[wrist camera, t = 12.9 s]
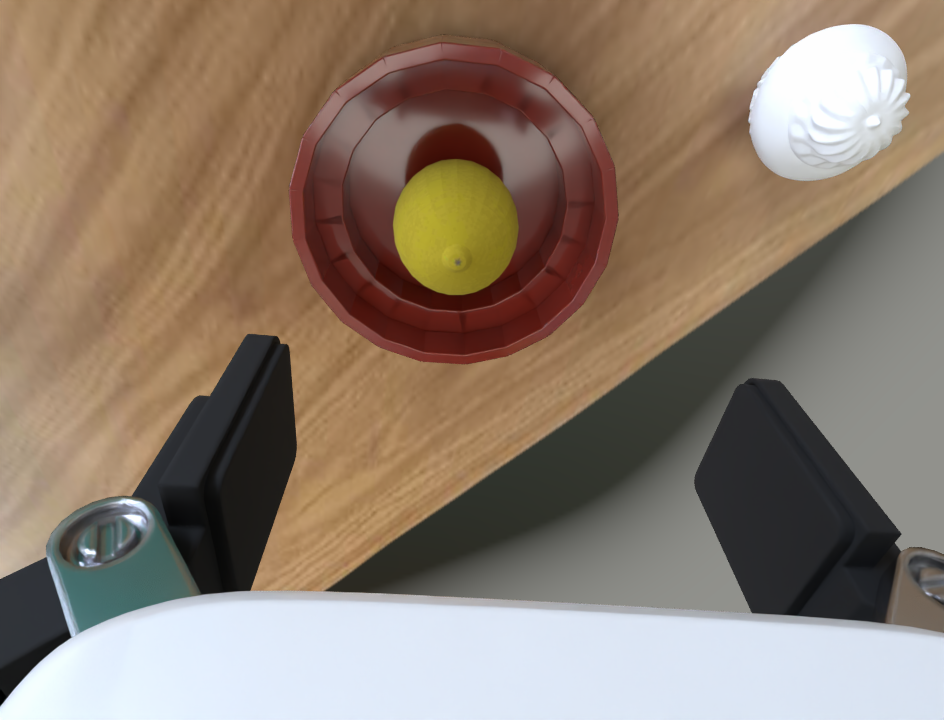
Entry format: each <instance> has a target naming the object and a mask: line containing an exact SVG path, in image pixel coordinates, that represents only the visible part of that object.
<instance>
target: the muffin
mask: <svg viewBox="0 0 944 720" xmlns="http://www.w3.org/2000/svg"><path fill="white" fill-rule="evenodd" d="M906 85H907V66H906V61H905V58H904V55H903V53H902V51H901V49H900V48H899V46H898V45H897V44H896V42H895V41H894V40H893V39H892V38H891V37H890V36H888V35H887V34H886V33H884V32H883V31H881V30H879V29H877V28H874V27H871V26H867V25H860V24H849V25H839V26H834V27H830V28H827V29H824V30H821V31H818V32H816V33H813V34H811V35H809V36H807V37H805V38H804V39H802V40H801V41H799V42H797V43H796V44H795V45H792V46H791V47H790V48H789V49H788V50H787V51H786V52H785V53H784V54H783V55H782V56H781V57H777V58H776V60H775V61H774V62H773V63H772V65H771V66H770V67H769V68H768V69H767V70H766V71H765V73H764V74H763V76H762V77H761V81H759V82H758V83H757V89H755V90H754V93H753V97H752V100H751V104H750V108H749V109H750V114H749V119H748V122H749V123H750V131H749V134H750V135H751V139H752V143H753V146H754V148H755V151H756V153H757V155H758V156H759V158H760V159H761V161H762V162H763V163H764V165H765V166H766V167H768V168H769V169H770V170H771V171H772V172H774V173H776V174H777V175H779V176H782V177H785V178H788V179H792V180H799V181H814V180H822V179H826V178H830V177H834V176H836V175H839V174H841V173H844V172H846V171H848V170H849V169H851V168H853V167H855V166H856V165H858V164H859V163H861V162H862V161H863V160H868V159H870V158H872V157H874V156H875V155H876V154H877V153H878V152H879V150H883V149H885V148H887V147H888V146H889V145H890V144H891V142H892V137H893V136H894V135H896V134H898V133H899V132H901V130H902V124H901V121H902V119H903V118H905V117H906V116H907V115H908V114H909V111H908V110H907V109H906V108H905V104H906V103H907V102H908V100H909V99H910V94H909V93H905V91H906Z"/></svg>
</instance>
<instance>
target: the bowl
mask: <svg viewBox="0 0 944 720" xmlns="http://www.w3.org/2000/svg"><path fill="white" fill-rule="evenodd" d="M450 159H461V160H468V161H473V162H475V163H477V164H479V165H482V166H484V167H486V168H487V169H489V170H490V171H491V172H492V173H494V174H495V175H496V176H497V177H499V178H500V180H501V181H502V182H503V184H504V185H505V186H506V188H507V189H508V190H509V192H510V194H511V197H512V199H513V202H514V204H515V207H516V210H517V218H518V226H519V229H518V237H517V244H516V248H515V251H514V253H513V256H512V258H511V260H510V263H509V265H508V266H507V267H506V269H505V270H504V271H503V273H502V274H501V275H500V277H499V278H497V279H496V280H495V281H494V282H492V283H491V284H490V285H489V286H487V287H485V288H483V289H481V290H479V291H477V292H474V293H469V294H465V295H447V294H443V293H439V292H436V291H434V290H432V289H430V288H428V287H426V286H424V285H423V284H421V283H420V282H419V281H418V280H417V279H415V278H414V277H413V276H412V275H411V273H410V272H409V271H408V269H407V268H406V266H405V265H404V264H403V262H402V260H401V258H400V255H399V253H398V250H397V247H396V245H395V238H394V230H393V220H394V213H395V207H396V204H397V201H398V199H399V197H400V195H401V192H402V190H403V189H404V187H405V186H406V185H407V183H408V182H409V181H410V180H411V178H412V177H413V176H414V175H415V174H417V173H418V172H419V171H421V170H422V169H424V168H425V167H426V166H428V165H431V164H433V163H436V162H439V161H441V160H450ZM289 188H290V189H289V199H290V212H291V225H292V238H293V242H294V244H295V247H296V249H297V251H298V254H299V256H300V259H301V261H302V264H303V266H304V268H305V271H306V273H307V276H308V278H309V281H310V283H311V284H312V287H313V288H314V289H315V290H316V291H317V293H318V294H319V295H320V296H321V298H322V299H323V300H324V301H325V302H326V304H327V305H328V306H329V307H330V308H331V310H332V311H333V312H334V313H335V314H336V316H337V317H338V318H339V319H340V321H342V322H343V323H344V324H346V325H347V326H349V327H350V328H352V329H353V330H355V331H356V332H358V333H359V334H360V335H362V336H363V337H365V338H366V339H368V340H369V341H371V342H372V343H374V344H375V345H377V346H378V347H380V348H383V349H386V350H389V351H391V352H394V353H397V354H400V355H403V356H406V357H409V358H412V359H415V360H418V361H423V362H436V363H451V364H471V363H476V362H481V361H486V360H491V359H496V358H501V357H506V356H509V355H512V354H514V353H516V352H518V351H520V350H522V349H524V348H526V347H528V346H530V345H532V344H534V343H536V342H538V341H540V340H542V339H544V338H546V337H548V335H550V334H551V333H553V332H554V331H555V330H556V329H557V328H558V327H559V326H560V325H561V324H562V323H564V322H565V321H566V320H567V319H568V318H569V317H570V316H571V315H572V314H573V313H575V312H576V311H577V310H578V309H579V308H580V307H581V306H582V305H583V304H584V302H585V301H586V299H587V297H588V296H589V294H590V292H591V291H592V289H593V287H594V286H595V284H596V283H597V281H598V279H599V278H600V276H601V274H602V273H603V271H604V269H605V268H606V266H607V263H608V259H609V255H610V251H611V247H612V243H613V239H614V235H615V231H616V227H617V223H618V216H619V214H618V201H617V188H616V174H615V167H614V163H613V161H612V158H611V156H610V154H609V151H608V149H607V147H606V144H605V142H604V140H603V137H602V135H601V133H600V130H599V128H598V126H597V124H596V121H595V119H594V118H593V116H592V115H591V113H590V112H589V111H588V110H587V109H586V108H585V107H584V106H583V105H582V104H581V103H580V102H579V101H578V100H577V98H576V97H575V96H574V95H573V94H572V93H571V92H570V91H569V90H568V89H567V88H566V87H565V86H564V85H563V83H562V82H561V81H560V80H559V79H558V78H557V77H556V76H555V75H554V74H552V73H551V72H550V71H548V70H547V69H546V68H545V67H543V66H542V65H541V64H540V63H538V62H536V61H534V60H532V59H530V58H528V57H526V56H524V55H522V54H521V53H519V52H517V51H515V50H513V49H511V48H509V47H507V46H505V45H503V44H501V43H499V42H497V41H494V40H489V39H481V38H472V37H463V36H454V35H446V34H444V35H437V36H433V37H429V38H425V39H421V40H417V41H413V42H410V43H406V44H402V45H398V46H394V47H393V48H390V49H389V50H387V51H386V52H384V53H383V54H381V55H380V56H379V57H377V58H376V59H374V60H373V61H371V62H370V63H368V64H367V65H366V66H364V67H363V68H361V69H360V70H358V71H357V72H356V73H354V74H353V75H351V76H350V77H349V78H348V79H347V80H346V81H345V82H343V83H342V84H341V85H340V86H339V87H338V88H337V89H336V90H335V91H334V92H333V93H332V94H331V96H330V97H329V99H328V100H327V102H326V103H325V105H324V106H323V107H322V109H321V110H320V112H319V113H318V115H317V116H316V117H315V119H314V120H313V122H312V123H311V125H310V126H309V128H308V129H307V130H306V132H305V133H304V135H303V137H302V140H301V144H300V148H299V151H298V155H297V159H296V163H295V166H294V170H293V174H292V178H291V181H290V185H289Z"/></svg>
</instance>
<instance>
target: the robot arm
mask: <svg viewBox="0 0 944 720" xmlns="http://www.w3.org/2000/svg"><path fill="white" fill-rule="evenodd" d="M296 450H297V441H296V428H295V415H294V402H293V389H292V376H291V363H290V351H289V346H288V345H287V344H280V340H279V338H278V337H277V336H268V335H256V334H247V335H246V337H245V338H244V340H243V342H242V343H241V345H240V347H239V348H238V350H237V352H236V353H235V355H234V357H233V358H232V360H231V362H230V363H229V365H228V367H227V368H226V370H225V372H224V373H223V375H222V377H221V378H220V380H219V382H218V383H217V385H216V387H215V388H214V390H213V392H212V393H211V395H210V396H200V395H199V396H197V397H195V398H194V399H193V401H192V402H191V403H190V405H189V406H188V408H187V409H186V411H185V413H184V414H183V416H182V417H181V419H180V420H179V422H178V424H177V425H176V427H175V428H174V430H173V432H172V433H171V435H170V436H169V438H168V439H167V441H166V443H165V444H164V446H163V447H162V449H161V451H160V452H159V454H158V455H157V457H156V458H155V460H154V462H153V463H152V465H151V466H150V468H149V470H148V471H147V473H146V474H145V476H144V477H143V479H142V481H141V482H140V484H139V485H138V487H137V489H136V490H135V492H134V493H133V495H132V496H118V497H109V498H105V499H102V500H98V501H95V502H92V503H90V504H88V505H86V506H84V507H82V508H80V509H78V510H76V511H74V512H73V513H72V514H70V515H69V516H68V517H66V518H65V519H64V520H62V521H61V523H60V524H59V525H58V526H57V527H56V529H55V530H54V531H53V532H52V533H51V536H50V538H49V541H48V543H47V545H46V555H47V557H46V558H44V559H42V560H39V561H37V562H35V563H33V564H31V565H29V566H27V567H25V568H23V569H21V570H19V571H16V572H14V573H12V574H10V575H8V576H6V577H4V578H2V579H0V720H944V554H942V553H939V552H937V551H934V550H930V549H926V548H922V547H909V548H907V549H905V550H903V551H900V550H899V548H898V547H897V546H896V544H895V541H896V540H897V539H898V538H899V537H900V535H901V533H900V531H898V529H897V528H896V526H895V525H894V524H893V523H892V521H891V520H890V519H889V518H888V516H887V515H886V514H885V513H884V511H883V510H882V509H881V507H880V506H879V505H878V504H877V502H876V501H875V500H874V499H873V497H872V496H871V495H870V494H869V492H868V491H867V490H866V488H865V487H864V486H863V485H862V484H861V482H860V481H859V480H858V478H857V477H856V476H855V475H854V473H853V472H852V471H851V470H850V468H849V467H848V466H847V464H846V463H845V462H844V461H843V459H842V458H841V457H840V456H839V454H838V453H837V452H836V451H835V449H834V448H833V447H832V446H831V444H830V443H829V442H828V440H827V439H826V438H825V437H824V435H823V434H822V433H821V432H820V430H819V429H818V428H817V426H816V425H815V424H814V423H813V421H812V420H811V419H810V418H809V416H808V415H807V414H806V413H805V411H804V410H803V409H802V408H801V406H800V405H799V404H798V403H797V401H796V400H795V399H794V398H793V396H792V395H791V394H790V392H789V391H788V390H787V389H786V387H785V386H784V385H783V384H782V383H781V382H780V381H777V380H767V379H756V378H751V379H748V380H747V381H746V382H745V383H744V384H740V385H739V386H738V387H737V388H736V389H735V391H734V393H733V396H732V398H731V400H730V402H729V404H728V406H727V408H726V410H725V412H724V415H723V417H722V419H721V421H720V423H719V425H718V427H717V429H716V432H715V434H714V436H713V438H712V440H711V442H710V444H709V446H708V448H707V451H706V453H705V455H704V457H703V459H702V461H701V463H700V465H699V467H698V470H697V472H696V475H695V480H694V481H695V482H694V484H695V489H696V492H697V494H698V496H699V498H700V501H701V503H702V505H703V507H704V509H705V511H706V513H707V516H708V518H709V520H710V522H711V524H712V527H713V529H714V531H715V533H716V535H717V538H718V540H719V542H720V544H721V546H722V548H723V551H724V553H725V555H726V557H727V560H728V562H729V564H730V566H731V568H732V570H733V572H734V575H735V577H736V579H737V581H738V584H739V586H740V588H741V590H742V592H743V594H744V596H745V599H746V601H747V603H748V605H749V608H750V609H751V612H752V613H739V612H723V611H705V610H689V609H673V608H654V607H636V606H618V605H600V604H581V603H562V602H542V601H524V600H505V599H484V598H483V599H482V598H463V597H461V598H460V597H441V596H421V595H400V594H380V593H350V592H349V593H347V592H318V591H250V590H251V587H252V585H253V582H254V579H255V576H256V573H257V570H258V567H259V564H260V561H261V558H262V555H263V552H264V549H265V546H266V544H267V541H268V538H269V535H270V532H271V529H272V526H273V523H274V520H275V517H276V514H277V511H278V508H279V505H280V503H281V500H282V497H283V494H284V491H285V488H286V485H287V482H288V479H289V476H290V473H291V470H292V467H293V465H294V461H295V457H296Z"/></svg>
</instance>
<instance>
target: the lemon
mask: <svg viewBox="0 0 944 720" xmlns="http://www.w3.org/2000/svg"><path fill="white" fill-rule="evenodd" d="M518 229H519V226H518V218H517V210H516V207H515V204H514V202H513V199H512V197H511V194H510V192H509V190H508V189H507V188H506V186H505V185H504V184H503V182H502V181H501V180H500V178H499V177H497V176H496V175H495V174H494V173H492V172H491V171H490V170H489V169H487V168H486V167H484V166H482V165H479V164H477V163H475V162H473V161H468V160H461V159H450V160H441V161H439V162H436V163H433V164H431V165H428V166H426V167H425V168H424V169H422V170H421V171H419V172H418V173H417V174H415V175H414V176H413V177H412V178H411V180H410V181H409V182H408V183H407V185H406V186H405V187H404V189H403V190H402V192H401V195H400V197H399V199H398V201H397V204H396V207H395V213H394V220H393V230H394V238H395V245H396V247H397V250H398V253H399V255H400V258H401V260H402V262H403V264H404V265H405V266H406V268H407V269H408V271H409V272H410V273H411V275H412V276H413V277H414V278H415V279H417V280H418V281H419V282H420V283H421V284H423V285H424V286H426V287H428V288H430V289H432V290H434V291H436V292H439V293H443V294H447V295H465V294H469V293H474V292H477V291H479V290H481V289H483V288H485V287H487V286H489V285H490V284H491V283H492V282H494V281H495V280H496V279H497V278H499V277H500V275H501V274H502V273H503V271H504V270H505V269H506V267H507V266H508V265H509V263H510V260H511V258H512V256H513V253H514V251H515V248H516V244H517V237H518Z"/></svg>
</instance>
